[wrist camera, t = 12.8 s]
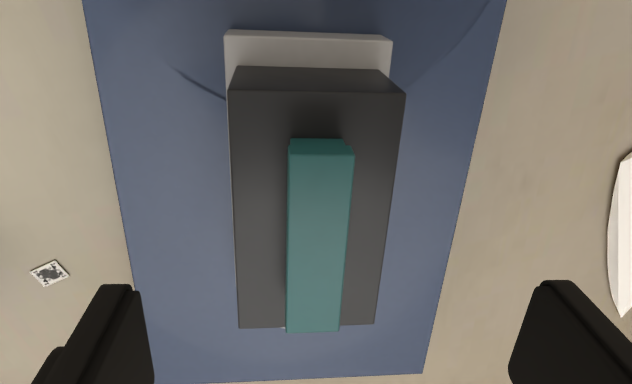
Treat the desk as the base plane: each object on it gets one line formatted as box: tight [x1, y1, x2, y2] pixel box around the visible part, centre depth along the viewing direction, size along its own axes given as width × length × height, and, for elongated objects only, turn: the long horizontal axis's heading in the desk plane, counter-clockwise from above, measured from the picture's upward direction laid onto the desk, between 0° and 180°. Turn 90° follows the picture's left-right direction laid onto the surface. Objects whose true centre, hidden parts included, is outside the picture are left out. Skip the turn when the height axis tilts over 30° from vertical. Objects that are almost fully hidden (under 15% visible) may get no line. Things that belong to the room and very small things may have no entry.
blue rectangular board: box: [82, 0, 507, 384], centre depth 20 cm, size 16×32×4 cm, turn 178°
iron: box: [223, 29, 407, 334], centre depth 16 cm, size 14×6×7 cm, turn 178°
